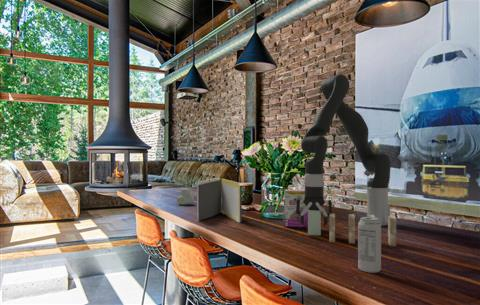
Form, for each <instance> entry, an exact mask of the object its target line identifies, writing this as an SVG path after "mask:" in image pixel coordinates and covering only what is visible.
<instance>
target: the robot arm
mask: <svg viewBox="0 0 480 305" xmlns="http://www.w3.org/2000/svg"><path fill="white" fill-rule="evenodd" d="M320 89H321V93H322V94H323V96H324V98H325V99H326V101H325V103H324V104H323V105H322V106H321V108H320V109H319V110H318V112H317V113H316V115H315V117H314V120H313V123H312V125H311V126H310V128H309V129H308V131H307V132H306V133H305V134H304V135H303V137H302V140H301V142H300V146H301V150H302V151H303V153H305V154H314V156H313V158H310V159H307V160H306V161H305V165H304V166H305V170H304V172H305V175H304V176H305V177H304V183H303V184H304V190H305V198H304V200H302V199H297V205H296V214H299V215H300V216H301V223H302V225H304V214H305V212H306V211H307V210H308V209H309V210H316V211H318V210H320V211H321V214H323V226H324V227H326V226H327V225H328V222H329V221H328V220H329V218H328V217H329V214H330V213H333V208H332V207H333V204H332V203H333V202H332V199H329V200H327V199H326V200H325V199H324V193H325V192H324V190H325V189H324V188H325V187H324V186H325V183H324V181H325V180H324V162H325V158H326V154H327V151H328V146H329V143H328V140H327V138H326V137H325V136H326V135H328V134H329V130H330V127H331V125H332V122H333V120H334V118H335V115H336V116H337V117H338V119H339V120H340V123H341V124H342V126H343V128H344V130H345V132H346V134H347V136H348V137H349V139H350V140H351V143H352V145H353V146H354V148H355V150H356V152H357V154H358V156H359V159H360V161H361V164H362V165H363V168H364V169H365V170H366V171H367V172H369V173H373V174H374V177H373V178H372V179H369V180H367V183H366V212H367V213H366V217H368V215H374V216H375V218H378V219H379V222H380V224H381V227H382V226H383V227H384V226H385V227H386V226H388V216H391V204H390V203H389V184H390V179H391V159H390V157H389V155H388V154H387V153H382V152H379V153H378V152H377V153H375V152H374V151H373V149H372V148H371V146H370V145H369V128H368V125H367V123H366V121H365V120H364V117H363V116H362V114H360V113H359V112H358V111H357V110H355V109H354V108H352V107H351V106H349V105H348V104H347V103H345V102H344V99H345V98H346V96H347V94H348V92H349V90H350V81H349V78H348V77H347V76H346V75H344V74H337V75H333V76H330V77H328V78H325V79H324V80H322V81H321V82H320ZM302 202H304V204H305V205H306V207H305V208H304V210H303V211H302V212H301V211H300V205H301V204H302ZM325 204H326V206H328V212H327V211H326V210H325V208H324V207H323V206H324V205H325Z"/></svg>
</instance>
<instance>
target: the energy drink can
mask: <svg viewBox="0 0 480 305" xmlns="http://www.w3.org/2000/svg"><path fill="white" fill-rule="evenodd" d="M357 224H358V225H357V254H358V255H357V257H358V259H357V268H358V270H360V271H362V272H364V273H368V274H376V273H380V272H381V271H382V226H381V224H380V222H379V219H378V218H375V217H367V216H361V217H360V219H359V221H358V223H357Z"/></svg>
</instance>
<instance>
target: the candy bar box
mask: <svg viewBox="0 0 480 305" xmlns="http://www.w3.org/2000/svg"><path fill="white" fill-rule="evenodd" d="M304 198H305V189H284V191H283V227H284V228H306V229H308V210H309V209H308V210H307V211H306V212H305V214H304V225H302V223H301V216H300V215H299V214H296V205H297V199H302V200H304ZM305 207H306V205H305V204H304V202H302V204H301V205H300V211H301V212H302V211H303V210H304V208H305Z"/></svg>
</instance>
